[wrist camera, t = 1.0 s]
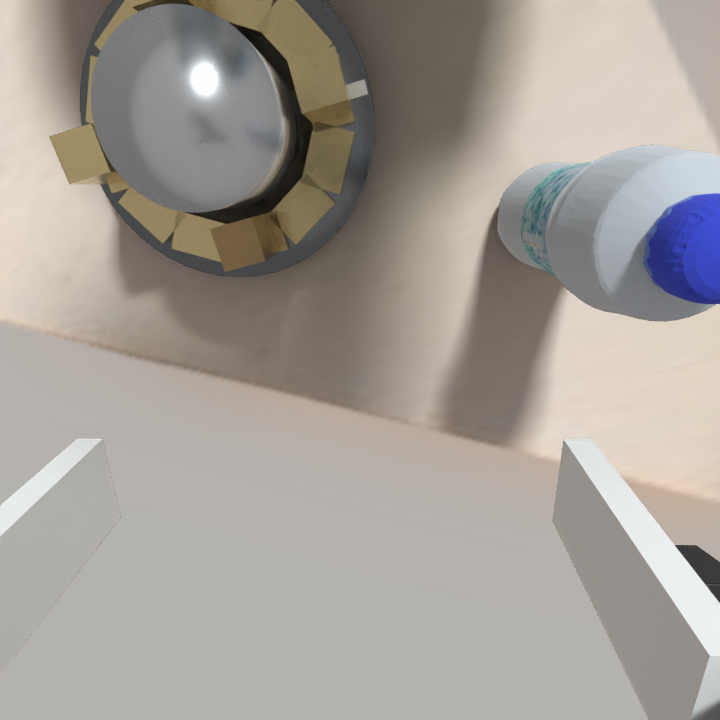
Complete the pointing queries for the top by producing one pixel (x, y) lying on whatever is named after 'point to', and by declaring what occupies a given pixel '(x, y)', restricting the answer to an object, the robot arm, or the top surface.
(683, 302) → the bottle
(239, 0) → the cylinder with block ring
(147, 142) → the cap plate
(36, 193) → the top surface
